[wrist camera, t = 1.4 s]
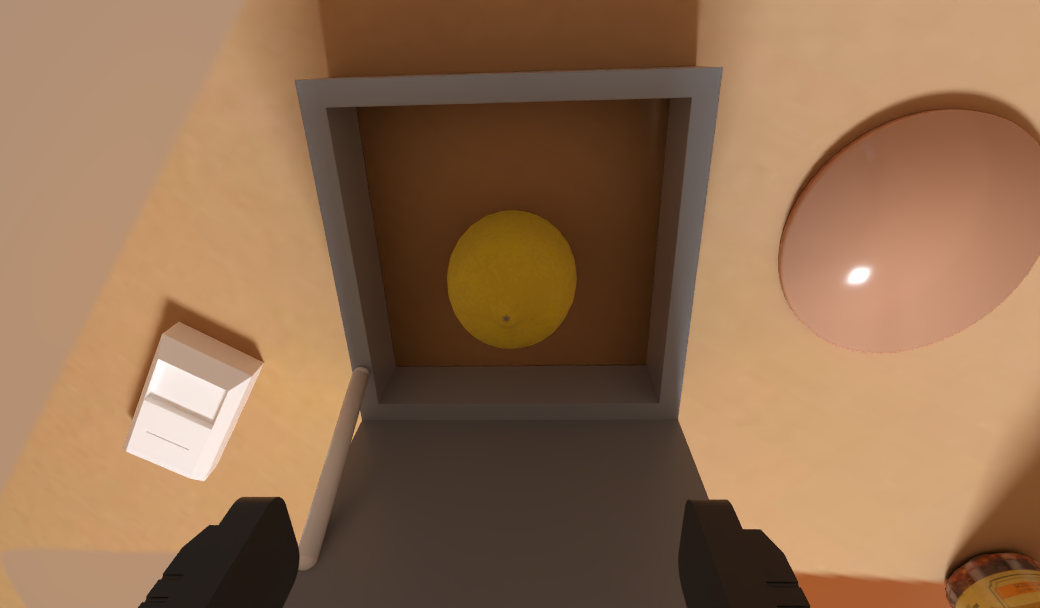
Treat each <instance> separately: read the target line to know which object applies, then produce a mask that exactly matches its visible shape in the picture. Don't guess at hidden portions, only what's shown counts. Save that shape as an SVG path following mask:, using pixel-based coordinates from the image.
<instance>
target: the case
mask: <svg viewBox="0 0 1040 608" xmlns="http://www.w3.org/2000/svg"><path fill="white" fill-rule="evenodd" d="M722 70H723V67H702V66H689V67H657V68H624V69H591V70H558V71H525V72H493V73H460V74H427V75H394V76H362V77H329V78H317V79H304V80H295V83H296V88H297V93H298V98H299V104H300V109H301V114H302V119H303V124H304V129H305V134H306V139H307V144H308V149H309V154H310V159H311V164H312V169H313V174H314V179H315V184H316V189H317V194H318V200H319V205H320V210H321V215H322V220H323V225H324V230H325V235H326V240H327V245H328V250H329V255H330V260H331V265H332V270H333V275H334V280H335V285H336V290H337V296H338V301H339V306H340V311H341V316H342V321H343V326H344V331H345V336H346V341H347V346H348V351H349V356H350V361H351V366H352V371H353V373H352V376H351V379H350V382H349V386H348V389H347V392H346V395H345V399H344V402H343V405H342V408H341V411H340V415H339V418H338V421H337V424H336V428H335V431H334V434H333V437H332V440H331V444H330V447H329V450H328V453H327V457H326V460H325V463H324V466H323V469H322V473H321V476H320V479H319V482H318V486H317V489H316V492H315V495H314V498H313V502H312V505H311V508H310V511H309V514H308V518H307V521H306V524H305V527H304V531H303V534H302V537H301V540H300V543H299V547H298V548H299V554H300V560H299V568H298V573H297V577H296V580H295V582H294V585H293V587H292V589H291V591H290V593H289V595H288V598H287V600H286V602H285V604H284V606H283V608H687V606H686V602H685V599H684V595H683V591H682V588H681V583H680V577H679V568H678V552H679V545H680V538H681V531H682V524H683V517H684V510H685V504H686V502H687V500H709V498H708V496H707V493H706V491H705V488H704V486H703V483H702V480H701V478H700V475H699V473H698V470H697V468H696V465H695V462H694V460H693V457H692V455H691V452H690V449H689V447H688V444H687V442H686V439H685V437H684V434H683V431H682V429H681V426H680V424H679V421H678V415H679V407H680V399H681V391H682V383H683V375H684V368H685V360H686V352H687V344H688V336H689V328H690V321H691V313H692V305H693V297H694V289H695V281H696V274H697V266H698V258H699V250H700V242H701V234H702V227H703V219H704V211H705V203H706V195H707V187H708V180H709V172H710V164H711V156H712V148H713V140H714V133H715V125H716V117H717V109H718V101H719V93H720V86H721V78H722ZM651 98H670V103H669V114H668V125H667V136H666V148H665V159H664V170H663V181H662V192H661V203H660V214H659V226H658V237H657V248H656V259H655V270H654V281H653V292H652V304H651V315H650V326H649V337H648V348H647V359H646V365H588V366H438V367H396V363H395V357H394V350H393V344H392V338H391V331H390V325H389V318H388V312H387V305H386V299H385V292H384V286H383V279H382V273H381V266H380V260H379V253H378V247H377V240H376V234H375V228H374V221H373V215H372V208H371V202H370V195H369V189H368V182H367V176H366V169H365V163H364V156H363V150H362V143H361V137H360V130H359V124H358V117H357V111H356V107H366V106H402V105H437V104H473V103H509V102H544V101H580V100H616V99H651ZM359 411H360V412H361V417H362V422H361V424H360V426H359V428H358V430H357V432H356V434H355V436H354V438H353V440H352V436H353V433H354V429H355V425H356V422H357V418H358V415H359ZM351 440H352V442H351ZM350 443H351V444H350Z"/></svg>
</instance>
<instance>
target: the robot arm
mask: <svg viewBox="0 0 1040 608" xmlns="http://www.w3.org/2000/svg"><path fill="white" fill-rule="evenodd" d="M299 560H300V554H299V548H298V544H297V541H296V537H295V534H294V531H293V527H292V524H291V521H290V517H289V514H288V511H287V507H286V504H285V502H284V500H283V499H282V498H280V497H242V498H239V499H238V500H237V501H236V502H235V503H234V504H233V505H232V507H231V508H230V509H229V511H228V512H227V514H226V515H225V517H224V518H223V520H222V521H221V522H220V524H219V525H209V526H208V527H206V528H205V529H204V530H203V531H202V532H200V533H199V534H198V535H197V536H196V537H194V538H193V539H192V540H191V541H190V542H188V543H187V544H186V545H185V546H184V547H183V548H182V549H181V550H180V551H179V553H178V554H177V556H176V557H175V558H174V560H173V561H172V562H171V564H170V565H169V566H168V568H167V569H166V570H165V572H164V573H163V577H162V579H161V580H158V581H157V583H156V584H155V585H154V587H153V588H152V589H151V591H150V592H149V594H148V595H147V597H146V601H145V602H142V603H141V604H140V606H139V607H138V608H283V606H284V604H285V602H286V600H287V598H288V595H289V593H290V591H291V589H292V587H293V585H294V582H295V580H296V577H297V573H298V568H299ZM678 568H679V577H680V583H681V588H682V591H683V595H684V599H685V602H686V606H687V608H810V604H809V602H808V601H807V599H806V597H805V595H804V593H803V591H802V589H801V588H799V586H798V581H797V579H796V577H795V575H794V573H793V571H792V569H791V567H790V565H789V563H788V561H787V559H786V557H785V555H784V553H783V552H782V551H781V550H780V549H779V548H778V547H777V546H776V545H775V544H774V543H773V542H772V541H771V540H770V539H769V538H768V537H767V536H766V535H765V534H764V533H763V532H762V531H761V530H760V529H742V527H741V524H740V522H739V520H738V517H737V515H736V513H735V511H734V508H733V506H732V505H731V503H730V502H729V501H728V500H687V502H686V504H685V510H684V517H683V524H682V531H681V538H680V545H679V552H678Z"/></svg>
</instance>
